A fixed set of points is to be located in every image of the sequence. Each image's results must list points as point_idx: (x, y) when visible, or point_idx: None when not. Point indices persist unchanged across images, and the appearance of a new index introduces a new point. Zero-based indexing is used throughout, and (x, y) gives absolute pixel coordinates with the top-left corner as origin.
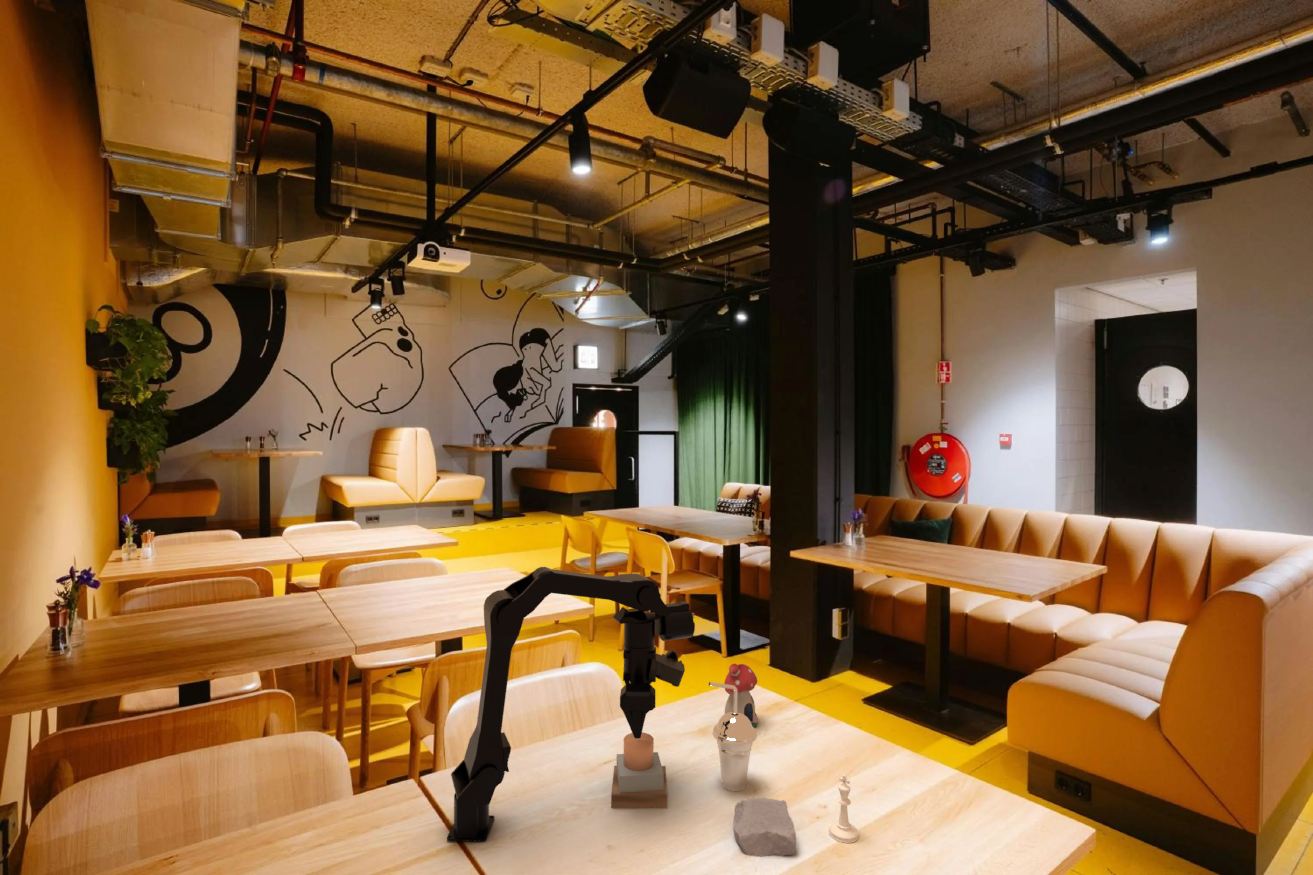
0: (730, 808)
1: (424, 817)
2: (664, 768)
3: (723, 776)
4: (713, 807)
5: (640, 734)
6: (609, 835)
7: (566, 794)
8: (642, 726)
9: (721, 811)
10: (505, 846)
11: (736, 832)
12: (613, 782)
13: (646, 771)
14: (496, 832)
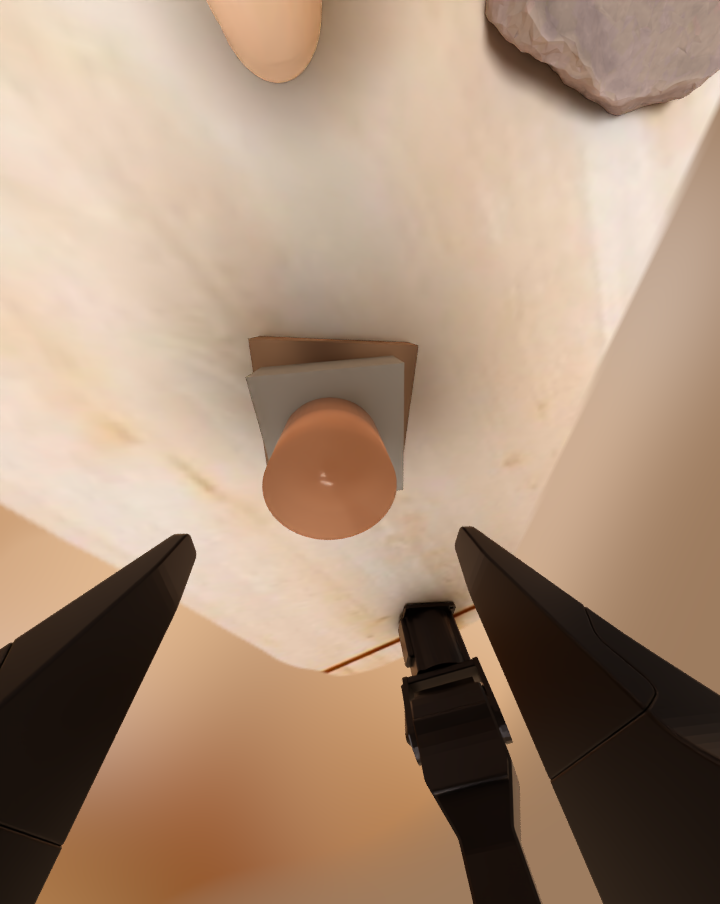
0: (438, 86)
1: (392, 654)
2: (265, 343)
3: (293, 37)
4: (423, 172)
5: (491, 542)
6: (479, 464)
7: (344, 538)
8: (548, 582)
9: (449, 140)
10: None
11: (663, 92)
12: None
13: (383, 420)
14: (435, 595)
